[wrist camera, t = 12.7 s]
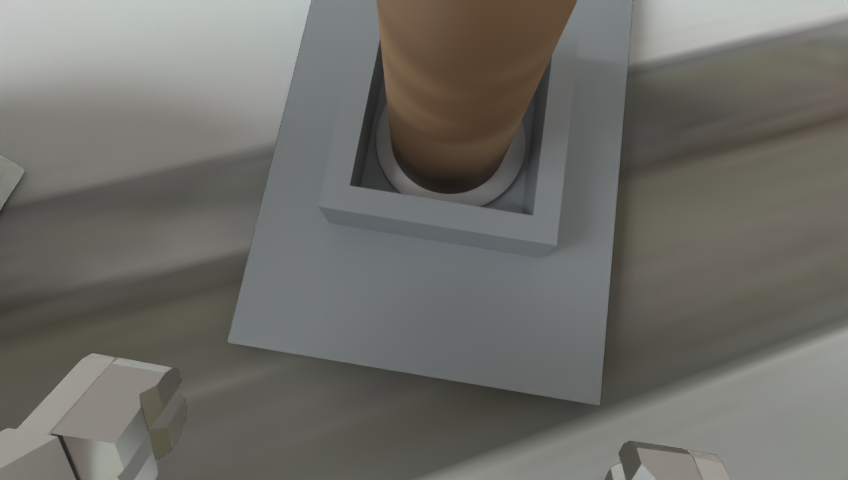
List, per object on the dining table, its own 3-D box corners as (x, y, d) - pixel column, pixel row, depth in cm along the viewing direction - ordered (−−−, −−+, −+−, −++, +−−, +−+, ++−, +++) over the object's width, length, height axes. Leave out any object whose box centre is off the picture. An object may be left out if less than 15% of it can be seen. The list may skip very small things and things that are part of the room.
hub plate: (237, 342, 17) (201, 341, 14) (333, -51, 20) (319, -119, 17) (589, 402, 17) (626, 413, 14) (624, -6, 20) (660, -67, 17)
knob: (381, 183, 17) (354, 39, 9) (401, 78, 18) (393, -136, 10) (498, 202, 17) (572, 73, 9) (513, 96, 18) (591, -106, 10)
